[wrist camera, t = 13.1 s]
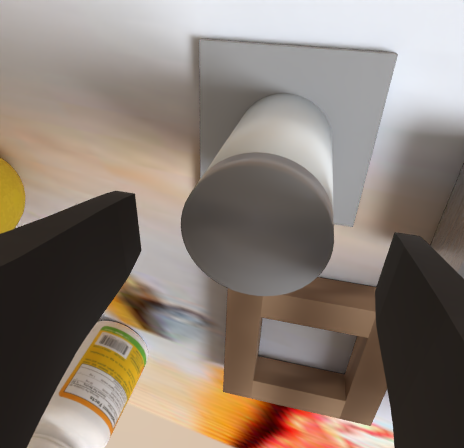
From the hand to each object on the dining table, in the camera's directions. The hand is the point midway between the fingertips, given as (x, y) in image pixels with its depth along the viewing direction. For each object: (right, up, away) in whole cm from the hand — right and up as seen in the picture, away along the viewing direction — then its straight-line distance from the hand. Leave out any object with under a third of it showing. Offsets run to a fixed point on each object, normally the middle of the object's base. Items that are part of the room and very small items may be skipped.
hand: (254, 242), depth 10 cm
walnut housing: (+4, -7, +14) cm, 16 cm away
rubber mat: (+2, +5, +7) cm, 9 cm away
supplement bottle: (-10, -9, +19) cm, 23 cm away
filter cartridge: (+2, +4, +7) cm, 8 cm away
